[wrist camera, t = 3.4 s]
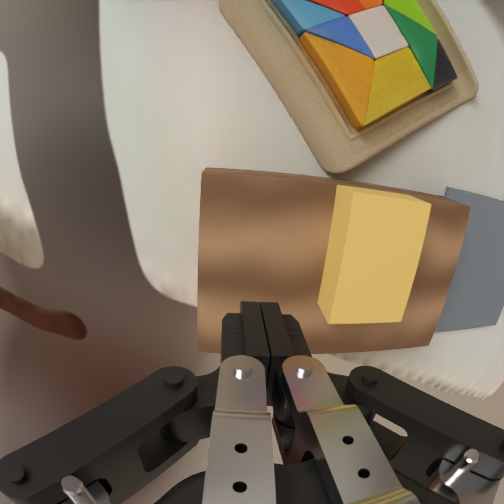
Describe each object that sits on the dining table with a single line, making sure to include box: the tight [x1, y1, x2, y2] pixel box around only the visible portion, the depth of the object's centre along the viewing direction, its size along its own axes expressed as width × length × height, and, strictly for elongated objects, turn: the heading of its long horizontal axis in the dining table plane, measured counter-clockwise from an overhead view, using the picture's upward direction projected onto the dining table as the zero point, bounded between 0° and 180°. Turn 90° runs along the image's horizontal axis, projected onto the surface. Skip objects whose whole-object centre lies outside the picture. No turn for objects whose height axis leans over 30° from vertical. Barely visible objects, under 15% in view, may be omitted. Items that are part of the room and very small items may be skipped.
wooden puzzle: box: [219, 0, 478, 174], centre depth 19 cm, size 18×19×4 cm
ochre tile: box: [317, 185, 431, 324], centre depth 21 cm, size 9×6×3 cm, turn 175°
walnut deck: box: [198, 168, 471, 354], centre depth 25 cm, size 14×22×4 cm, turn 85°
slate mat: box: [434, 187, 504, 332], centre depth 28 cm, size 16×16×1 cm
